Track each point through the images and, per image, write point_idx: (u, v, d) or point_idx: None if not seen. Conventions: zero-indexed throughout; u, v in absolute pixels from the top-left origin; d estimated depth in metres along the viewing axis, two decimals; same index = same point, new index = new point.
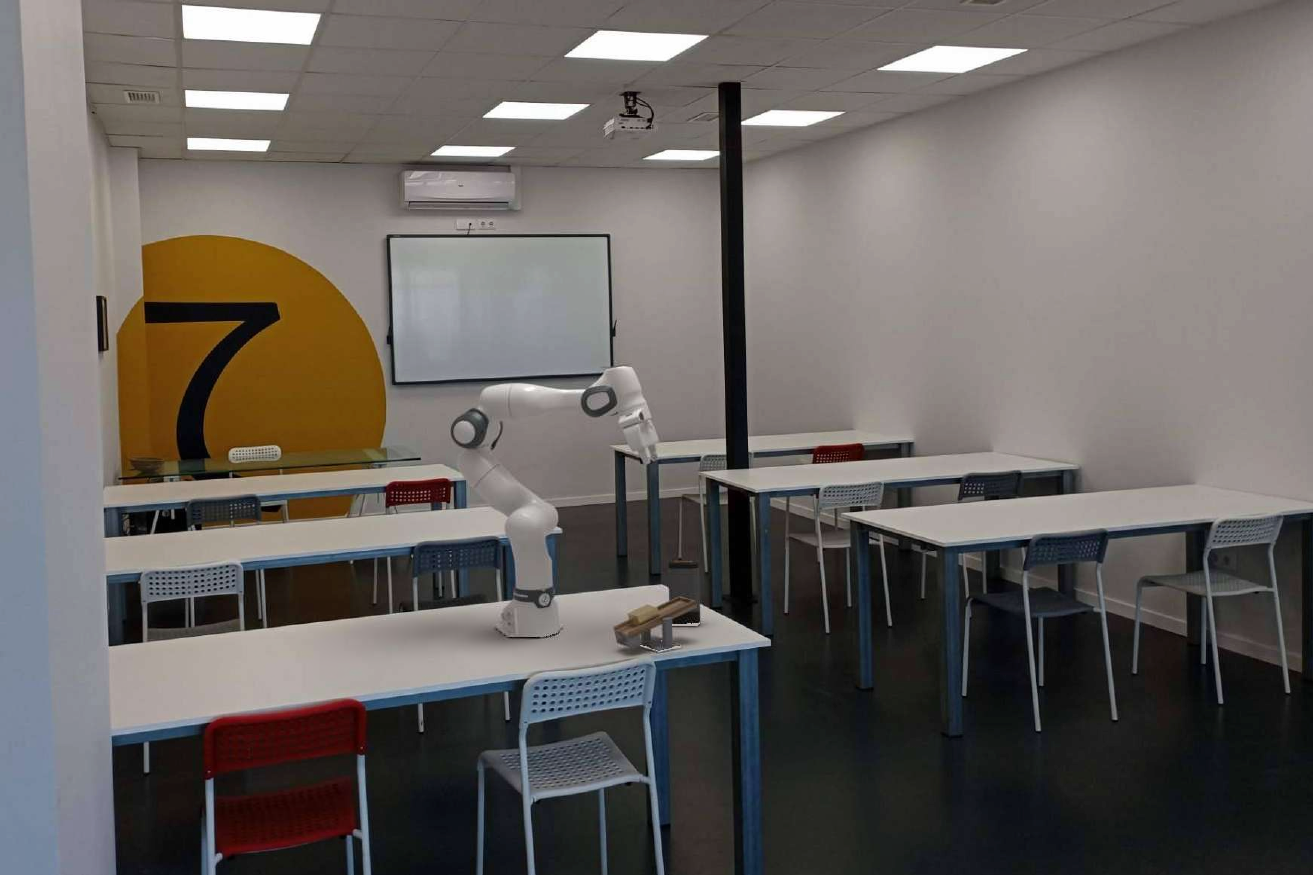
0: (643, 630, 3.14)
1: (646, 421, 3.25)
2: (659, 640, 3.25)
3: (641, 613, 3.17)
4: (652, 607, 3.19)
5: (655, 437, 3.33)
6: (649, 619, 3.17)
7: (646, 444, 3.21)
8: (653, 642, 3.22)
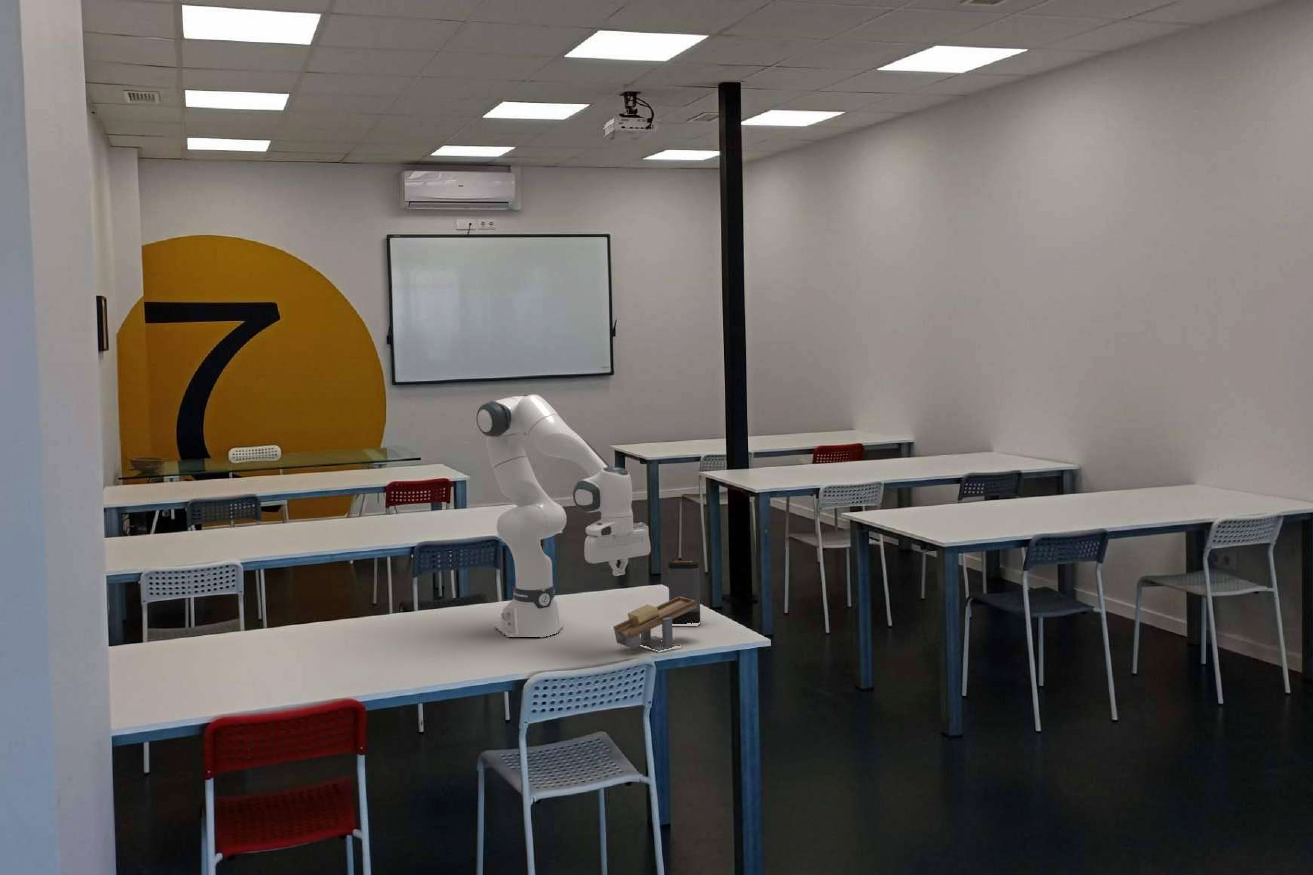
0: (643, 630, 3.14)
1: (620, 535, 3.09)
2: (659, 640, 3.25)
3: (641, 613, 3.17)
4: (652, 607, 3.19)
5: (641, 549, 3.15)
6: (649, 619, 3.17)
7: (605, 559, 3.08)
8: (653, 642, 3.22)
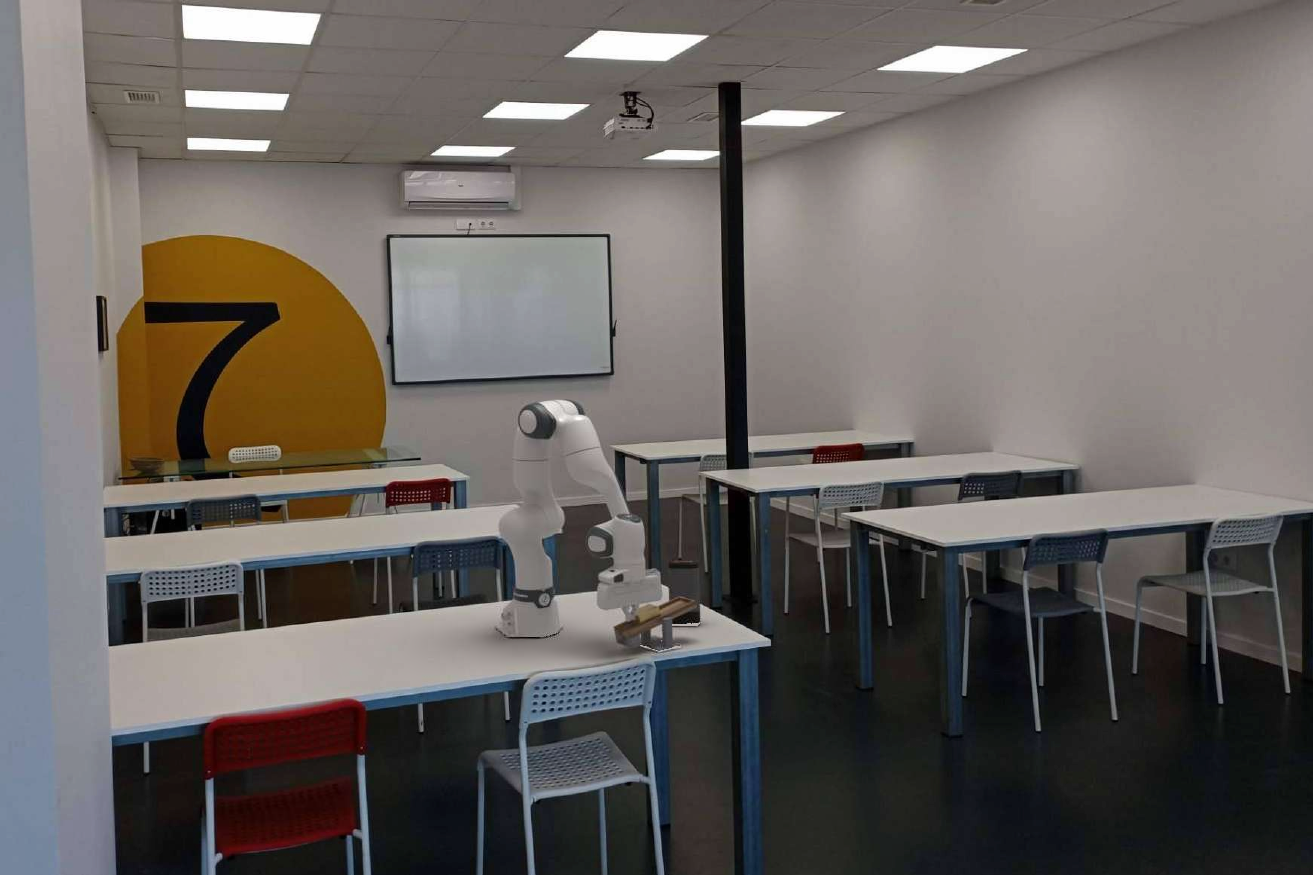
0: (643, 630, 3.14)
1: (632, 582, 3.13)
2: (659, 640, 3.25)
3: (642, 612, 3.17)
4: (653, 607, 3.20)
5: (653, 595, 3.19)
6: (650, 618, 3.18)
7: (617, 605, 3.12)
8: (653, 642, 3.22)
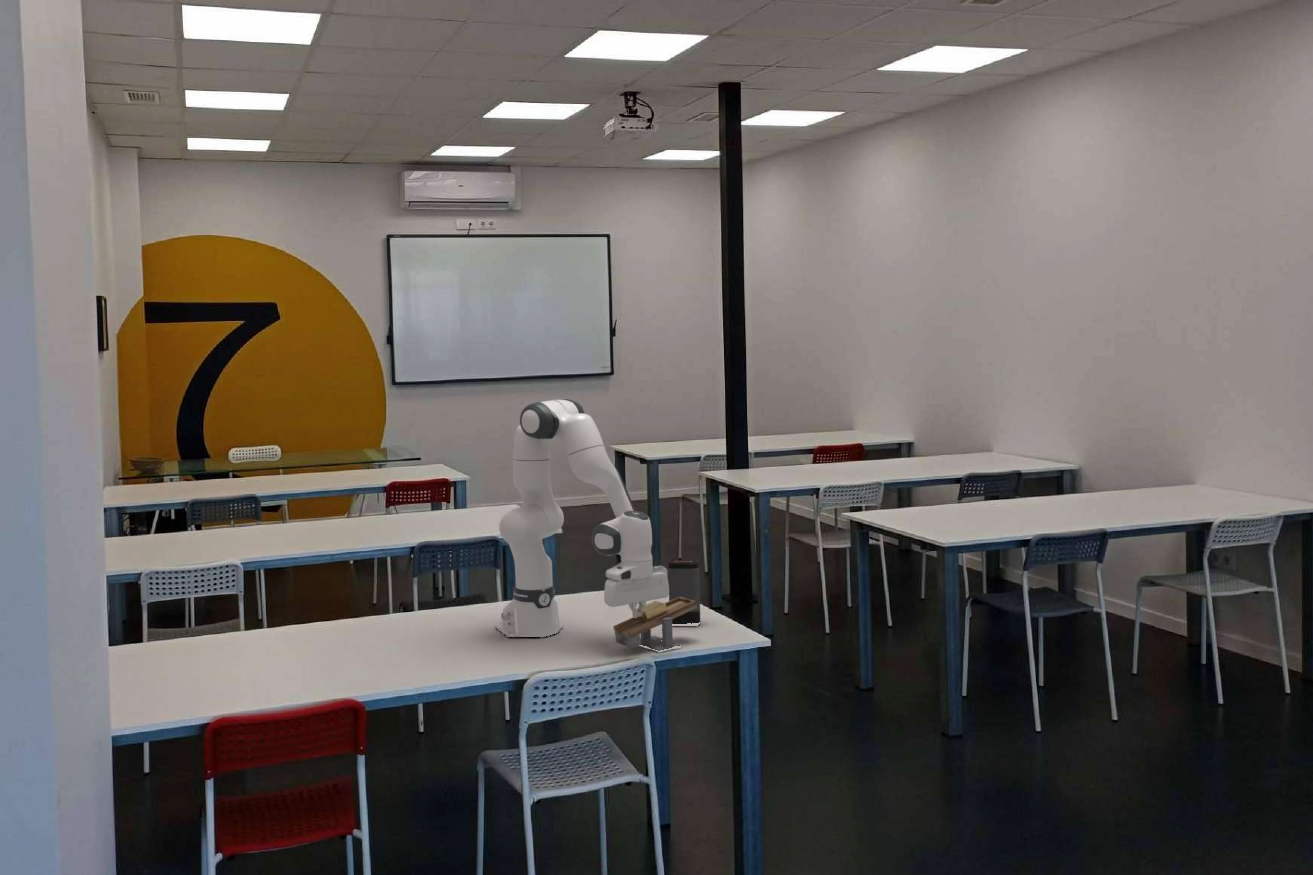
0: (643, 630, 3.14)
1: (639, 579, 3.14)
2: (659, 640, 3.25)
3: (649, 609, 3.18)
4: (660, 603, 3.21)
5: (660, 592, 3.20)
6: (657, 615, 3.19)
7: (625, 602, 3.13)
8: (653, 642, 3.22)
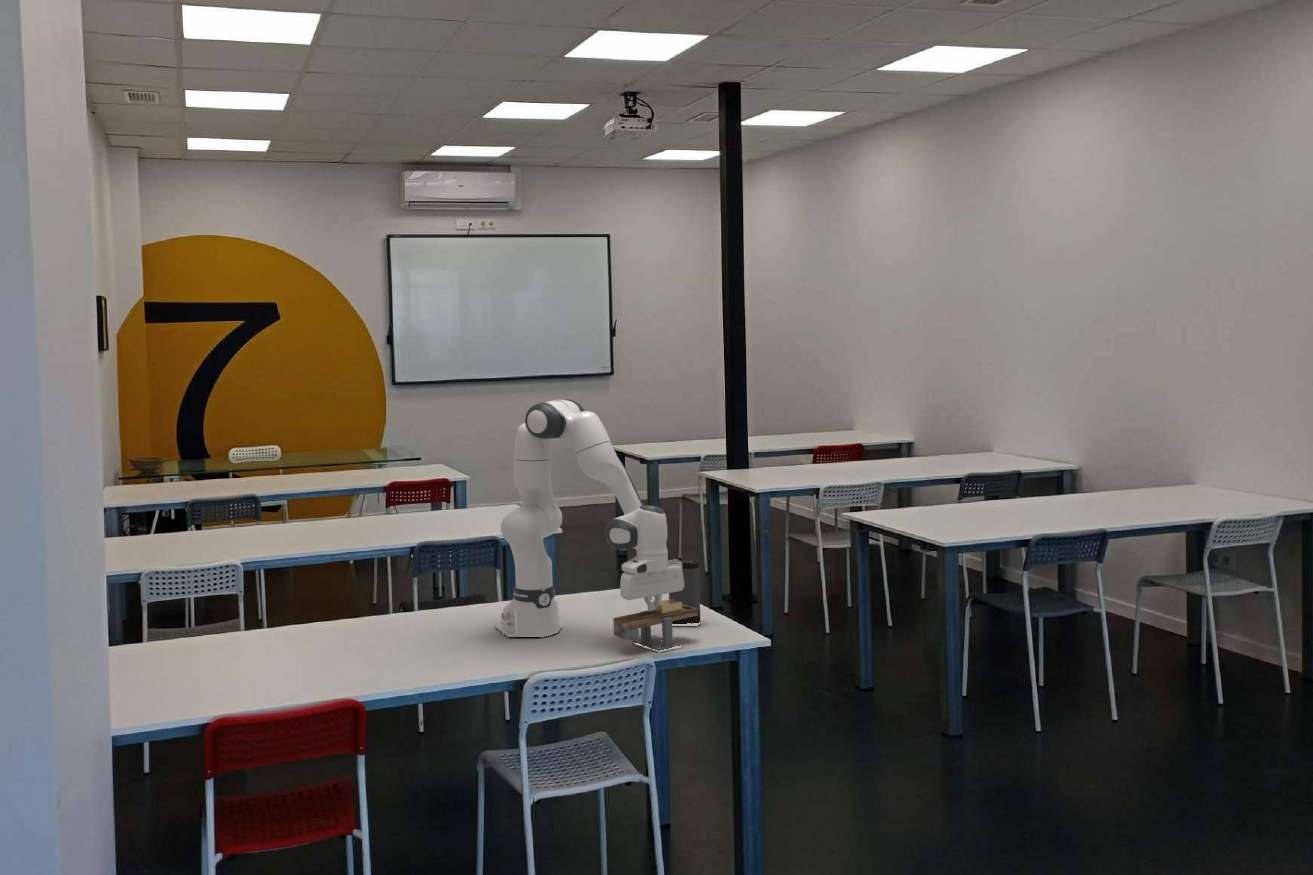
0: (642, 625, 3.14)
1: (655, 572, 3.17)
2: (659, 640, 3.25)
3: (665, 603, 3.22)
4: (676, 601, 3.24)
5: (675, 586, 3.23)
6: (672, 611, 3.22)
7: (640, 595, 3.16)
8: (653, 642, 3.22)
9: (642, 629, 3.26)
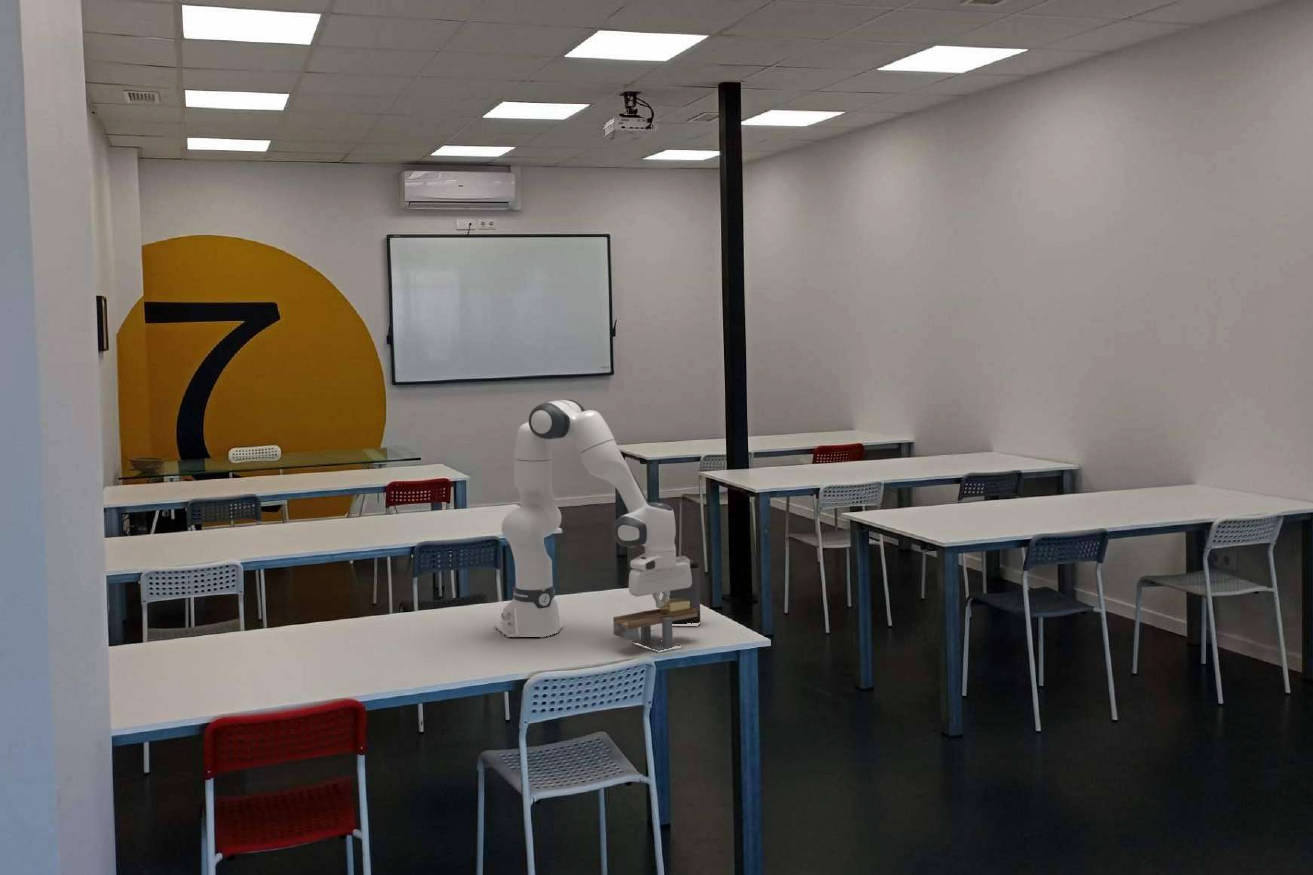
0: (642, 624, 3.14)
1: (663, 569, 3.19)
2: (659, 640, 3.25)
3: (674, 601, 3.23)
4: (684, 600, 3.26)
5: (683, 582, 3.25)
6: (680, 609, 3.24)
7: (649, 592, 3.18)
8: (653, 642, 3.22)
9: (642, 629, 3.26)
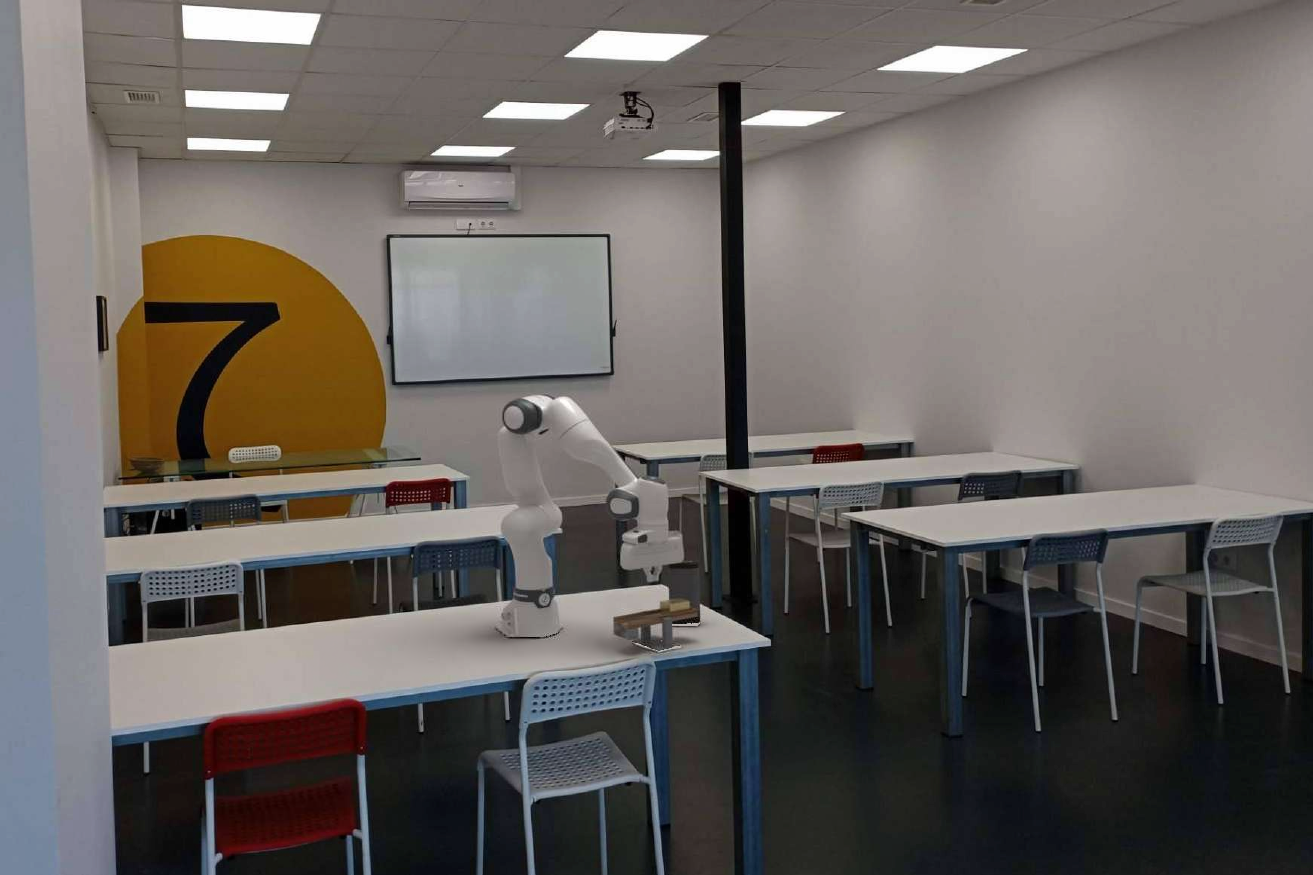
0: (642, 624, 3.14)
1: (655, 543, 3.17)
2: (659, 640, 3.25)
3: (673, 602, 3.23)
4: (684, 600, 3.26)
5: (675, 557, 3.23)
6: (680, 610, 3.24)
7: (641, 566, 3.16)
8: (653, 642, 3.22)
9: (642, 629, 3.26)
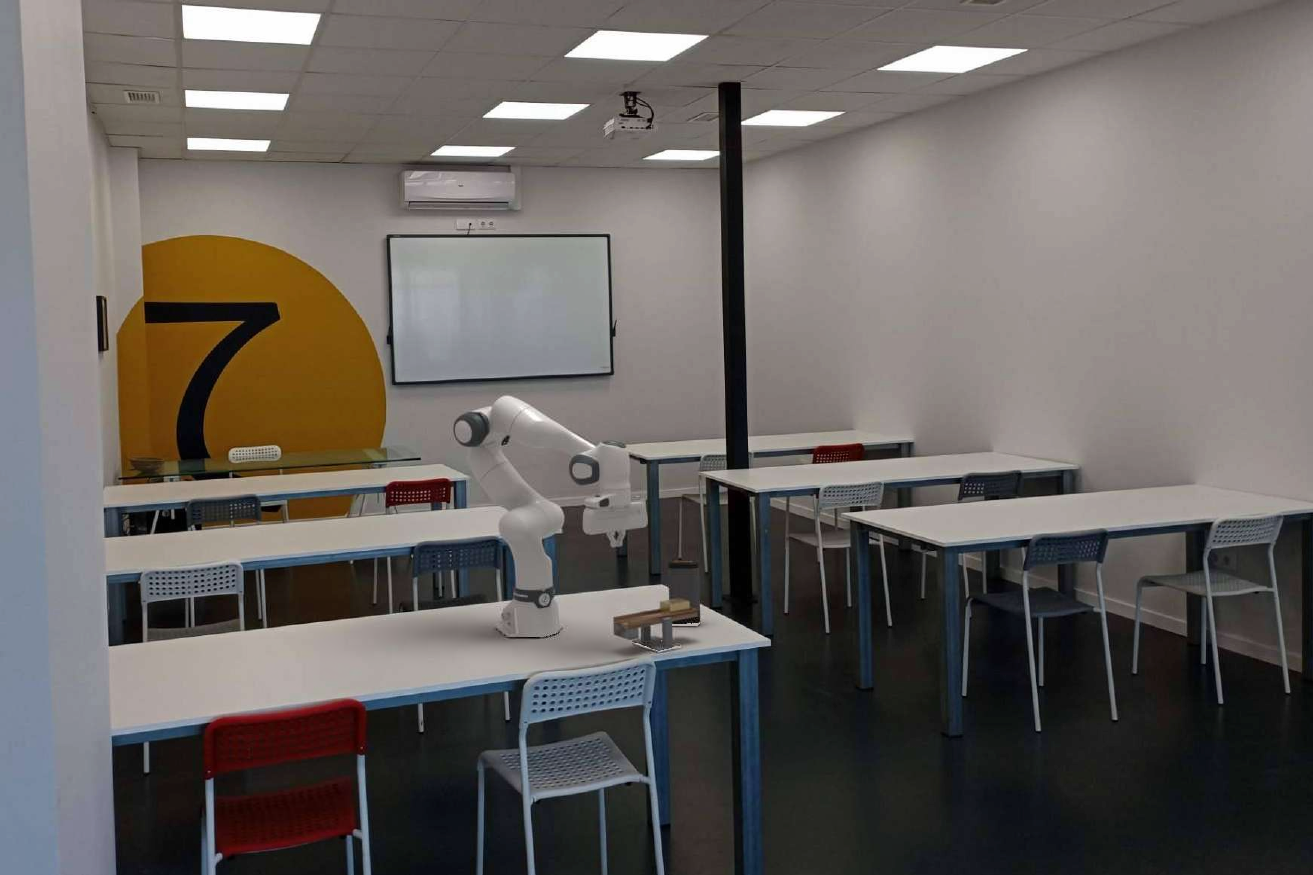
0: (642, 624, 3.14)
1: (618, 507, 3.16)
2: (659, 640, 3.25)
3: (673, 602, 3.23)
4: (684, 600, 3.26)
5: (638, 522, 3.22)
6: (680, 610, 3.24)
7: (603, 530, 3.15)
8: (653, 642, 3.22)
9: (642, 629, 3.26)
